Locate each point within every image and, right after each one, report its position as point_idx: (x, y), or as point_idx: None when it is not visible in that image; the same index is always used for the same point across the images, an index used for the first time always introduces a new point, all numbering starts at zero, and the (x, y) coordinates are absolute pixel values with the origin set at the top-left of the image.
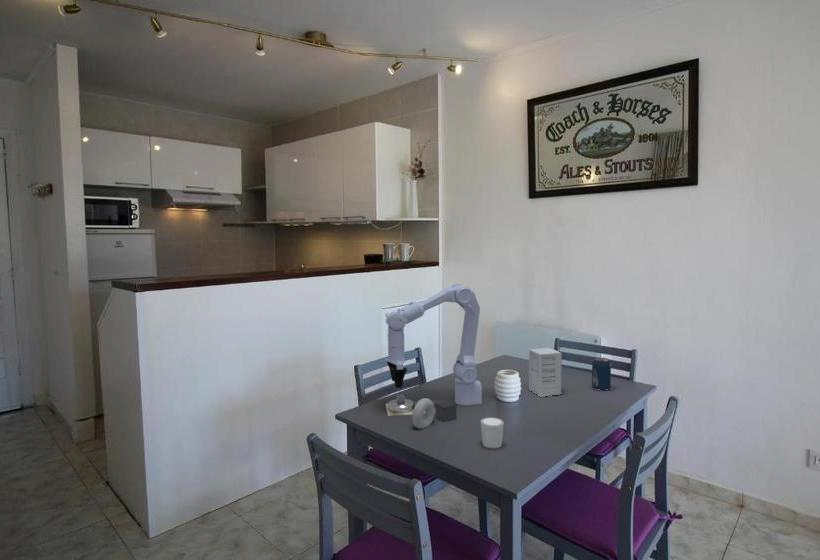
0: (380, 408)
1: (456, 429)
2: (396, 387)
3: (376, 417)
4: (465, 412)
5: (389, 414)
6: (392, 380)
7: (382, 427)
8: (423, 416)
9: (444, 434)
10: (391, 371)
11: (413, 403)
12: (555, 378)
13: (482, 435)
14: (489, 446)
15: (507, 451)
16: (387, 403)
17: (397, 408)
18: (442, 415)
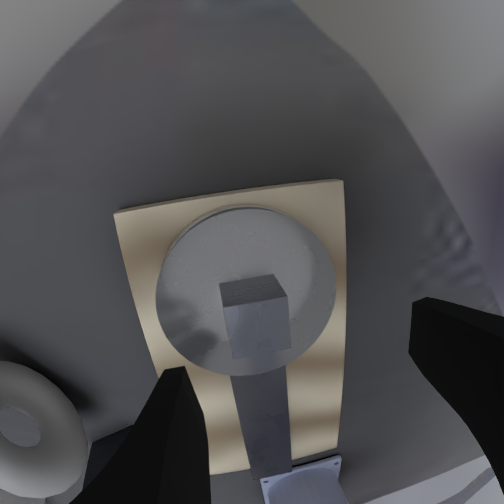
0: (307, 147)
1: None
2: (161, 377)
3: (148, 131)
4: (229, 489)
5: (136, 221)
6: (417, 304)
7: (13, 192)
8: (44, 413)
9: (24, 429)
10: (495, 349)
11: (257, 370)
12: None
13: (4, 495)
14: None
15: None
16: (340, 195)
17: (157, 285)
18: (94, 467)
